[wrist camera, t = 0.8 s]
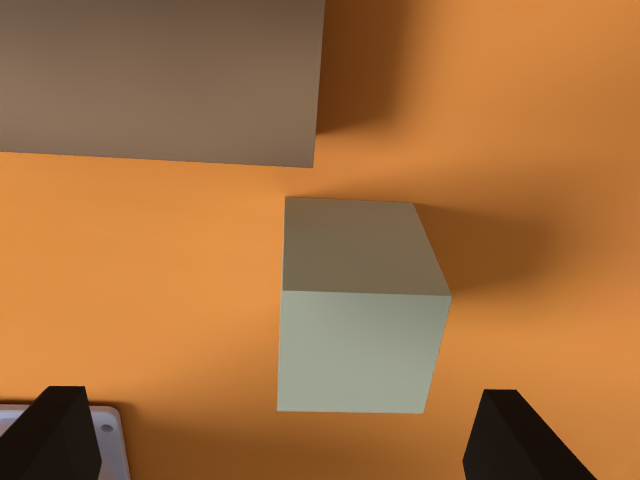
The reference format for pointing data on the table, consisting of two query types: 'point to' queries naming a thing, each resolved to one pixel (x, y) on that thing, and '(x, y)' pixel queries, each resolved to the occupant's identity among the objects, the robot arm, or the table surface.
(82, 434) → the robot arm
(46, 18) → the walnut base
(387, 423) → the table surface
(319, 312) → the sage cube
